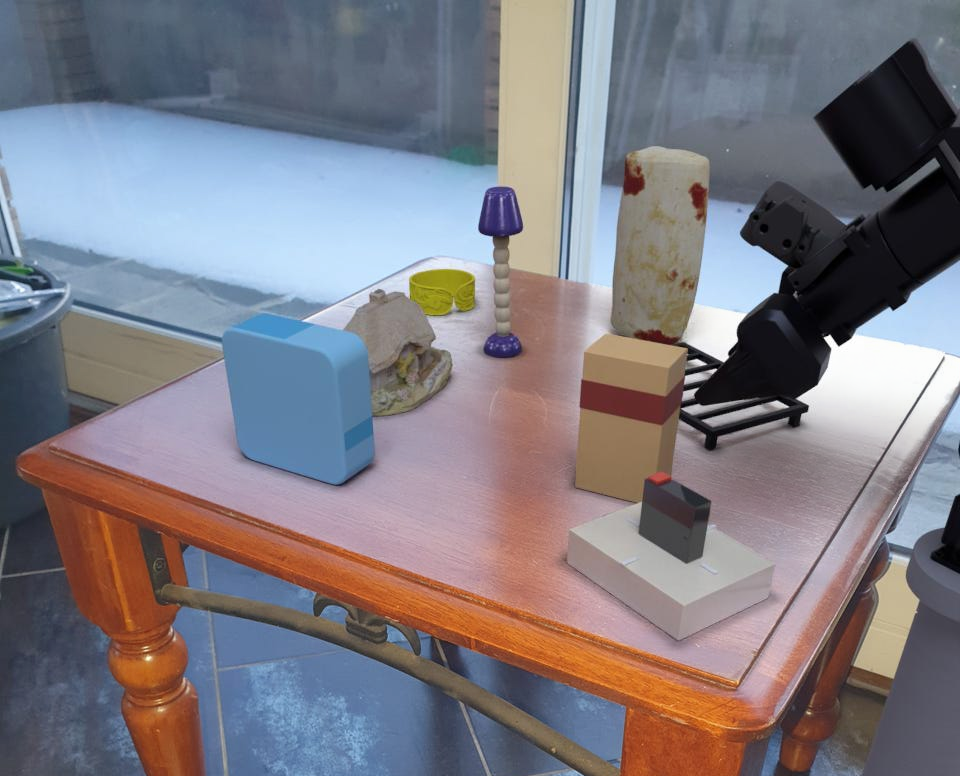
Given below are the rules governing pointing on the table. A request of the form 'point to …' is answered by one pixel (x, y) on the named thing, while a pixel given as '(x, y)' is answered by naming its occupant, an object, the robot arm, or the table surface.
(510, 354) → the toy lamp
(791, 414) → the bed frame
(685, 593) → the light grey block
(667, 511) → the gray box
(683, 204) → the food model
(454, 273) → the bracelet
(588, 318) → the table surface
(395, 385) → the ceramic model
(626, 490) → the packet
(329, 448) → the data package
